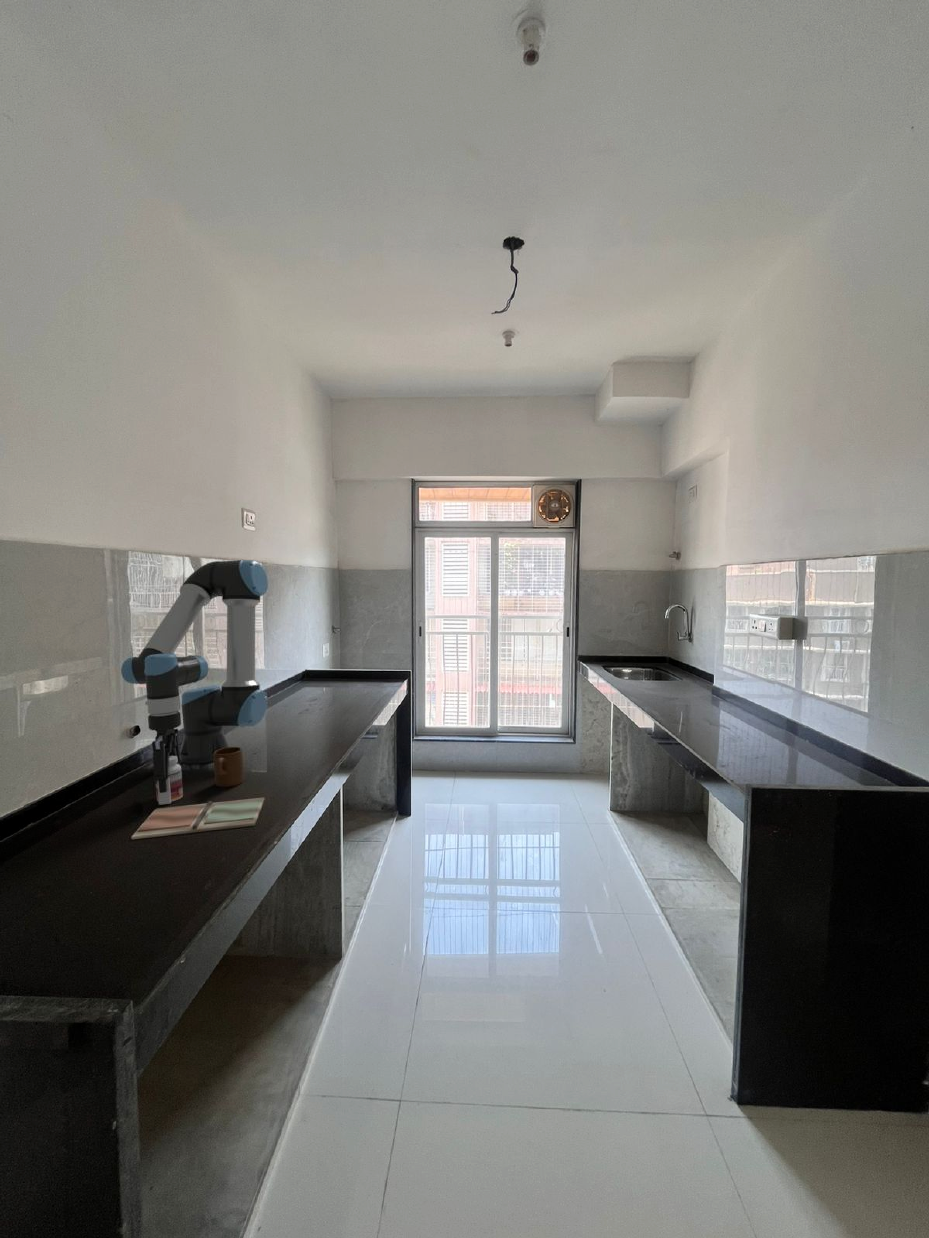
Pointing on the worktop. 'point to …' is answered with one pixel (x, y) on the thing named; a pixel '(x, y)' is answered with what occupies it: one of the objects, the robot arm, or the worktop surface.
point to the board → (200, 818)
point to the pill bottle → (174, 779)
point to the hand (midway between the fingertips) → (169, 797)
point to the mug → (228, 766)
